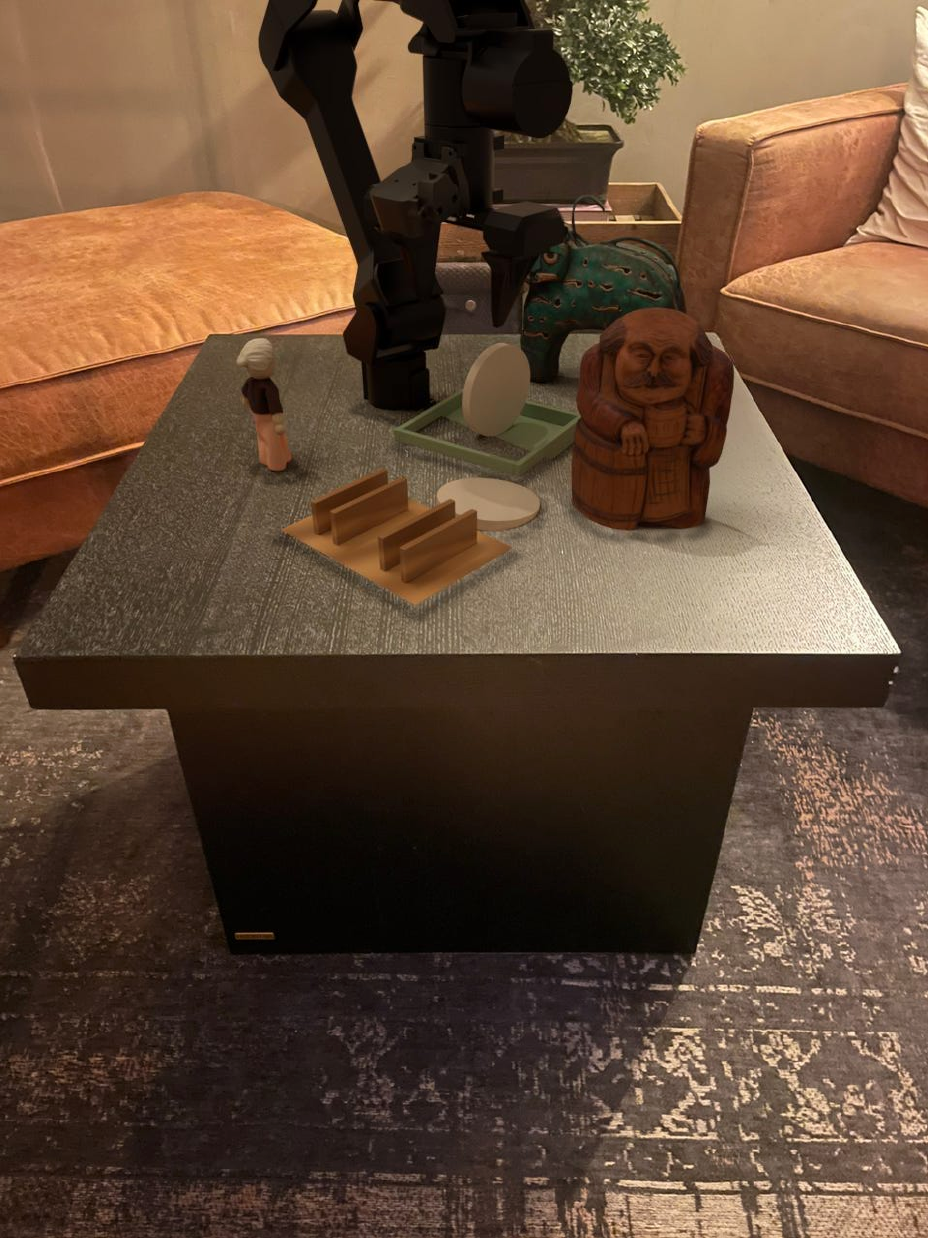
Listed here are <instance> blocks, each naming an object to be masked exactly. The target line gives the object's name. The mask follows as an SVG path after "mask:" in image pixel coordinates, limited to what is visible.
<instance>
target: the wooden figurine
mask: <svg viewBox="0 0 928 1238" xmlns="http://www.w3.org/2000/svg"><path fill="white" fill-rule="evenodd" d="M598 341H599V343H595V344H594V345H592V346H591V347H590V348H588V349H587V350H586V351H584V353H583V355H582V356H581V360H580V367H579V378H578V379H579V380H578V390H577V394H576V400H575V402H576V408H577V411H578V413H579V414H580V416H581V417H580V419H578V421H577V424H576V428H575V434H574V443H572V444H573V445H572V454H571V455H572V457H571V501H572V505H573V507H574V508H575V509H576V510H577V511H578V512H579V513H580V514H582V515H583V517H585V518H587V519H588V520H590V521H592V522H594V523H596V524H598V525H600V526H603V527H607V528H609V529H610V528H611V529H613V530H619V531H633V530H635V529H636V528H649V529H660V528H669V527H670V528H671V527H672V528H675V529H683V530H685V529H692V528H694V527H695V528H696V527H698V526H700V525H702V524H703V523H704V522H705V519H706V515H707V509H708V508H707V507H708V500H709V493H710V485H711V473H710V472H711V471H710V469H711V468H713V467H715V466H716V465H717V464H718V463H719V461H720V460H721V457H722V454H723V451H724V448H725V442H726V438H727V433H728V428H727V427H728V421H729V418H730V413H731V405H732V399H733V394H734V393H733V392H734V384H735V383H734V382H735V367H734V363H733V361H732V359H731V358H730V356H729V355H728V353H726V352H725V351H723V350H722V349H720V348H718V347H717V346H716V345H713V344H712V342H711V340H710V339H709V337H708V335H707V333H706V332H705V330H704V329H703V327H702V326H701V325H700V324H699V323H698V322H697V321H696V320H695V319H694V318H693V317H691V316H690V315H688V314H687V315H686V314H684V313H682V312H680V311H677V310H674V309H667V308H659V307H657V308H644V309H638V310H635V311H633V312H630V313H628V314H626V315H624V316H623V317H621V318H618V319H617V320H616V321H614V322H613V323H612V324H611V325H610V326H609V327H608V328H606V329H605V330H604V331H603V330H602V332H601V334H600V335H599V340H598Z"/></svg>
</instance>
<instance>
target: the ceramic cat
mask: <svg viewBox="0 0 928 1238" xmlns="http://www.w3.org/2000/svg"><path fill="white" fill-rule="evenodd" d="M584 199H589V200H591V201H593V202H594V203H595V204H597V206H599V208H600V209H601V211H602V212H603V213H605V211H606V207H605V204H604V203H603V202H602V200H600V198H599V197H598V196H596V195H593V194H583V195H580V196H579V197H577V198H576V199H575V201H574V203H573V205H572V211H571V224H569V223H568V222H567V221H564V222H565V224H564V241H563V244H560V245H556V246H553V247H551V250H550V252H548V253H544V254H541V255H540V256H539V258H538V260H537V261H536V263H535V265H534V266H533V268H532V270H531V271H530V273H529V274H528V276H527V278H526V280H525V282H524V284H527V285H528V286H529V288H528V291H527V294H526V296H525V299H524V302H523V303H524V304H523V308H522V311H523V312H522V313H523V314H522V329H521V332H520V337H519V344H520V349H521V350H522V351H523V352H524V354H525V355H526V357H527V360H528V363H529V367H530V382H531V381H532V382H536V383H539V384H540V383H546V382H548V381H550V380H551V379H553V377H555V376H556V375H558V374H559V370H560V356H561V353H562V352H561V351H562V348H563V345H564V343H566V341H567V339H568V337H569V335H570V334H571V332H575V331H583V330H596V331H602V332H603V331H604V330H605V329H606V328H608V327H609V326H610V325H611V324H612V323H613V322H614V321H616V320H617V319H618V318H621V317H623V316H624V315H626V314H628V313H630V312H633V311H635V310H638V309H644V308H657V307H659V308H667V309H674V310H677V311H680V312H682V313H684V314H686V315H688V312H687V306H686V299H685V293H684V290H683V287H682V283H681V282H682V281H681V275H680V270H679V268H678V265H677V263H676V261H675V259H674V258H673V256H672V255H671V254H670V252H669V251H668V250H667V249H666V248H665V247H662V246H661V245H659V244H658V243H655V242H653V241H651V240H648V239H645V238H641V237H638V236H637V237H636V236H630V235H629V236H621V237H616V238H613V239H607V240H602V241H597V242H593V241H591V240H588V239H586V238H584V237H583V236H582V235H581V234H580V233H578V231H577V230H576V229H577V228H576V221H575V213H576V212H575V211H576V207H577V205H578V203H579V202H580V201H582V200H584ZM628 241H629V242H635V243H639V244H642V245H644V246H646V247H648V248H652V249H654V250H656V251H658V252H659V253H660V254H661V255H662V256H664V258H665V259H666V260H667V261H668V263H669V264H670V265H671V266H672V268H673V269H672V268H671V267H670V266H669V265H668V264H667V263H666V262H665V261H664V260H663V259H662V258H661V257H659V255H657V254H655V253H654V252H651V251H649V250H647V249H644V248H642V247H639V246H637V245H633V244H628V243H623V242H628ZM673 270H674V271H673ZM674 272H675V273H674Z"/></svg>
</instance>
